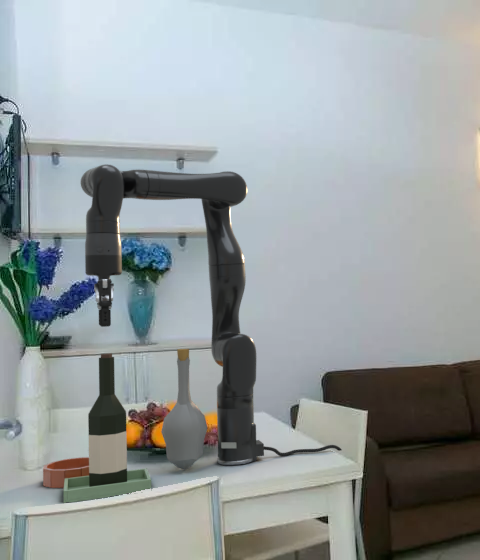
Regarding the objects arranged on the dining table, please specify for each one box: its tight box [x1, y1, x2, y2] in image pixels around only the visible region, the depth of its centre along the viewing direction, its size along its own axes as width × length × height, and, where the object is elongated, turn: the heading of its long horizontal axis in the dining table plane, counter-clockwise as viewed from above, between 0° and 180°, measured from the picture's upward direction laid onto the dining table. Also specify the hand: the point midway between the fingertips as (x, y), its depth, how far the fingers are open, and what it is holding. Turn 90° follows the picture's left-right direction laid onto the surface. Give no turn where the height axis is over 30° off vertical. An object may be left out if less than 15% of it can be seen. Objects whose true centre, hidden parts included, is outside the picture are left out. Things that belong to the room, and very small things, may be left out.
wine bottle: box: [87, 352, 128, 487], centre depth 153 cm, size 8×8×30 cm
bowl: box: [42, 456, 89, 489], centre depth 162 cm, size 13×13×4 cm
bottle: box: [160, 348, 208, 471], centre depth 169 cm, size 11×11×30 cm
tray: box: [62, 467, 152, 504], centre depth 152 cm, size 17×11×3 cm, turn 116°
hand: (104, 326), depth 153 cm, fingers open, 8 cm apart
